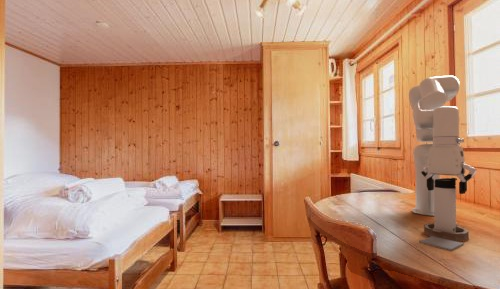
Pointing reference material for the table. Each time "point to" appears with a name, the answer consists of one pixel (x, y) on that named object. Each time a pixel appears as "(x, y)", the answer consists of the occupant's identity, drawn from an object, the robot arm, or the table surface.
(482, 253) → the table surface
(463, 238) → the collar
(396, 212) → the table surface
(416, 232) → the table surface
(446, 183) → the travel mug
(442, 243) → the mat
